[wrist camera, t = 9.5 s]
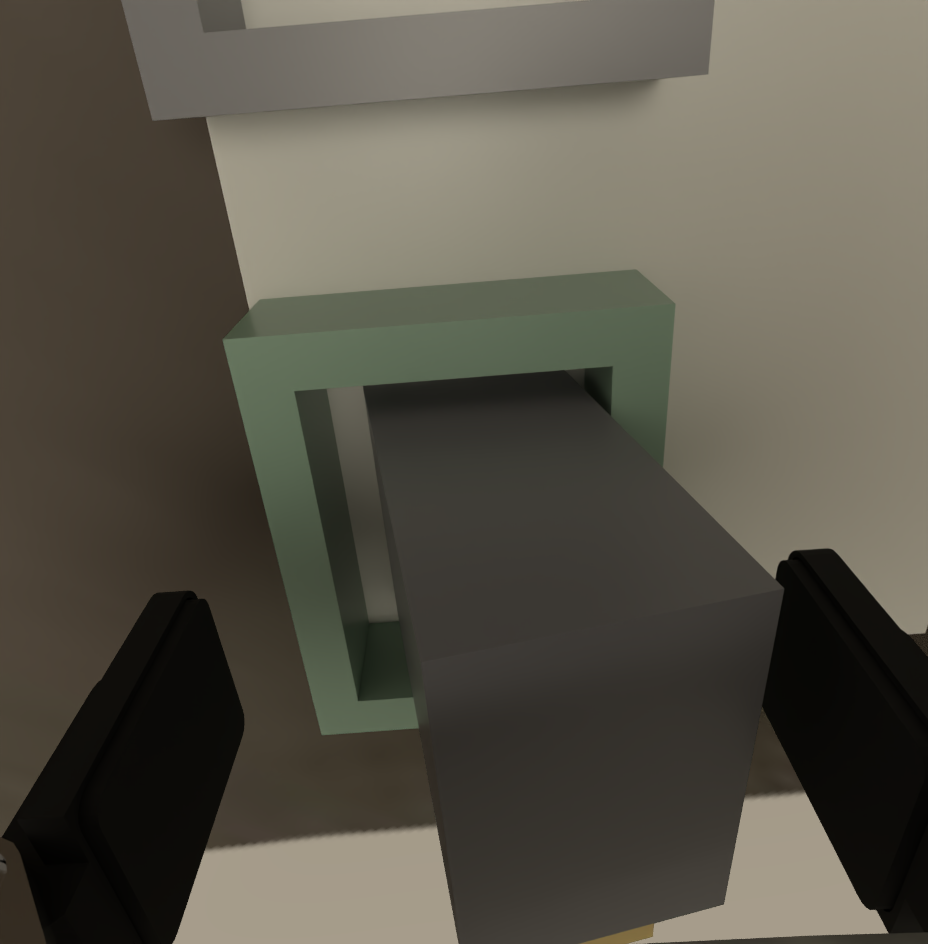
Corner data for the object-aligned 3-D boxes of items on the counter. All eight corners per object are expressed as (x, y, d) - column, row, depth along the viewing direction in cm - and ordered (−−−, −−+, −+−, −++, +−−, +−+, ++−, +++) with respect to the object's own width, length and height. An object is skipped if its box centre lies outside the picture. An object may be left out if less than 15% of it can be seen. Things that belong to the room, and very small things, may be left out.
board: (1295, -726, 9) (1793, -1210, 6) (899, 604, 19) (990, 706, 16) (70, -608, 9) (-141, -1010, 6) (338, 645, 20) (317, 754, 16)
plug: (552, 358, 14) (784, 588, 7) (555, 609, 18) (717, 933, 11) (362, 385, 14) (420, 663, 7) (401, 639, 17) (468, 1003, 10)
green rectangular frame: (636, 269, 13) (675, 303, 11) (618, 634, 18) (643, 711, 16) (259, 299, 14) (222, 339, 11) (337, 655, 18) (322, 735, 16)
